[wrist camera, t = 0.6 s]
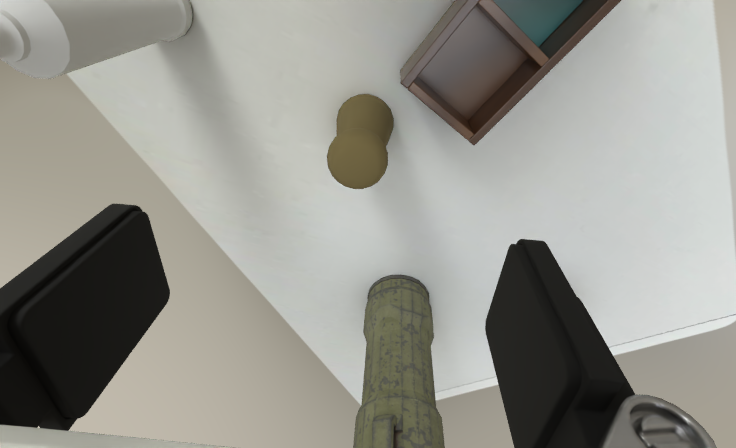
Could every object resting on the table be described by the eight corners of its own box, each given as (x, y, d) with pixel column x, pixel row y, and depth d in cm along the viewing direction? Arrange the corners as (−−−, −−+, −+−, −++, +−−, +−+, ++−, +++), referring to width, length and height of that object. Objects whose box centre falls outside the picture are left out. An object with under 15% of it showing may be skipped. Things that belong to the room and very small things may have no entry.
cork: (363, 81, 38) (352, 116, 29) (405, 122, 40) (408, 167, 31) (325, 123, 41) (304, 168, 32) (366, 160, 43) (358, 212, 34)
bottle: (203, 1, 35) (-80, 44, 14) (183, 50, 38) (-81, 149, 17) (148, -39, 34) (-256, -55, 13) (131, 15, 36) (-229, 76, 15)
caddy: (399, 70, 37) (400, 83, 33) (548, -118, 29) (573, -133, 25) (466, 127, 40) (474, 146, 36) (618, -30, 32) (652, -30, 28)
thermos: (412, 258, 50) (434, 659, 21) (441, 317, 56) (490, 698, 26) (351, 276, 52) (295, 659, 23) (385, 331, 58) (374, 694, 29)
